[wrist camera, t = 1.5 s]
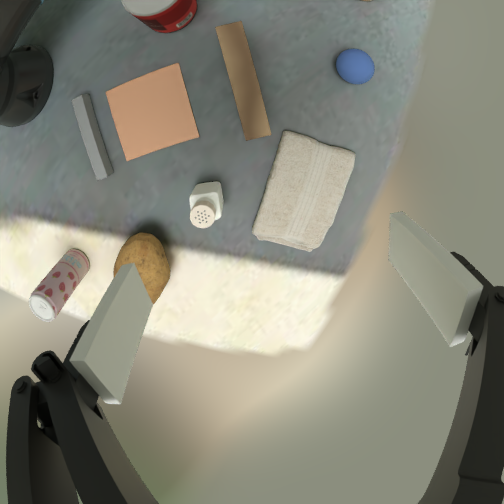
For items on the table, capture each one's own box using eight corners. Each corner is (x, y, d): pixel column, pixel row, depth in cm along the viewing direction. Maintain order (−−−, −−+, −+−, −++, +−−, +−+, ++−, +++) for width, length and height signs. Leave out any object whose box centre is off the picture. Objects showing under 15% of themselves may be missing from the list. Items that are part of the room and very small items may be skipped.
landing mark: (106, 91, 35) (105, 92, 35) (178, 62, 34) (178, 62, 34) (127, 160, 41) (126, 161, 41) (199, 136, 40) (199, 136, 40)
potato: (183, 230, 47) (173, 254, 40) (166, 295, 53) (157, 323, 46) (128, 214, 45) (110, 235, 38) (119, 280, 51) (104, 306, 44)
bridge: (244, 133, 40) (245, 140, 32) (220, 42, 33) (215, 27, 25) (265, 128, 40) (271, 134, 32) (241, 37, 33) (241, 21, 25)
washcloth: (249, 233, 48) (249, 241, 46) (280, 127, 40) (283, 128, 37) (315, 248, 50) (319, 257, 47) (352, 151, 42) (359, 154, 39)
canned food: (201, -11, 28) (189, -41, 18) (194, 33, 32) (179, 12, 22) (151, -8, 28) (126, -33, 18) (143, 35, 31) (115, 19, 22)
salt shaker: (220, 179, 43) (215, 199, 35) (224, 204, 45) (220, 229, 37) (194, 183, 43) (183, 204, 35) (199, 207, 45) (189, 233, 37)
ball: (327, 52, 34) (339, 46, 29) (361, 50, 33) (376, 45, 29) (335, 86, 36) (348, 85, 32) (368, 83, 36) (384, 82, 31)
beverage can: (91, 253, 48) (53, 303, 35) (89, 277, 51) (56, 328, 38) (66, 244, 47) (25, 289, 34) (65, 267, 50) (29, 315, 36)
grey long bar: (79, 99, 35) (71, 100, 33) (89, 94, 35) (81, 94, 33) (103, 176, 42) (97, 181, 39) (113, 172, 42) (107, 176, 39)
